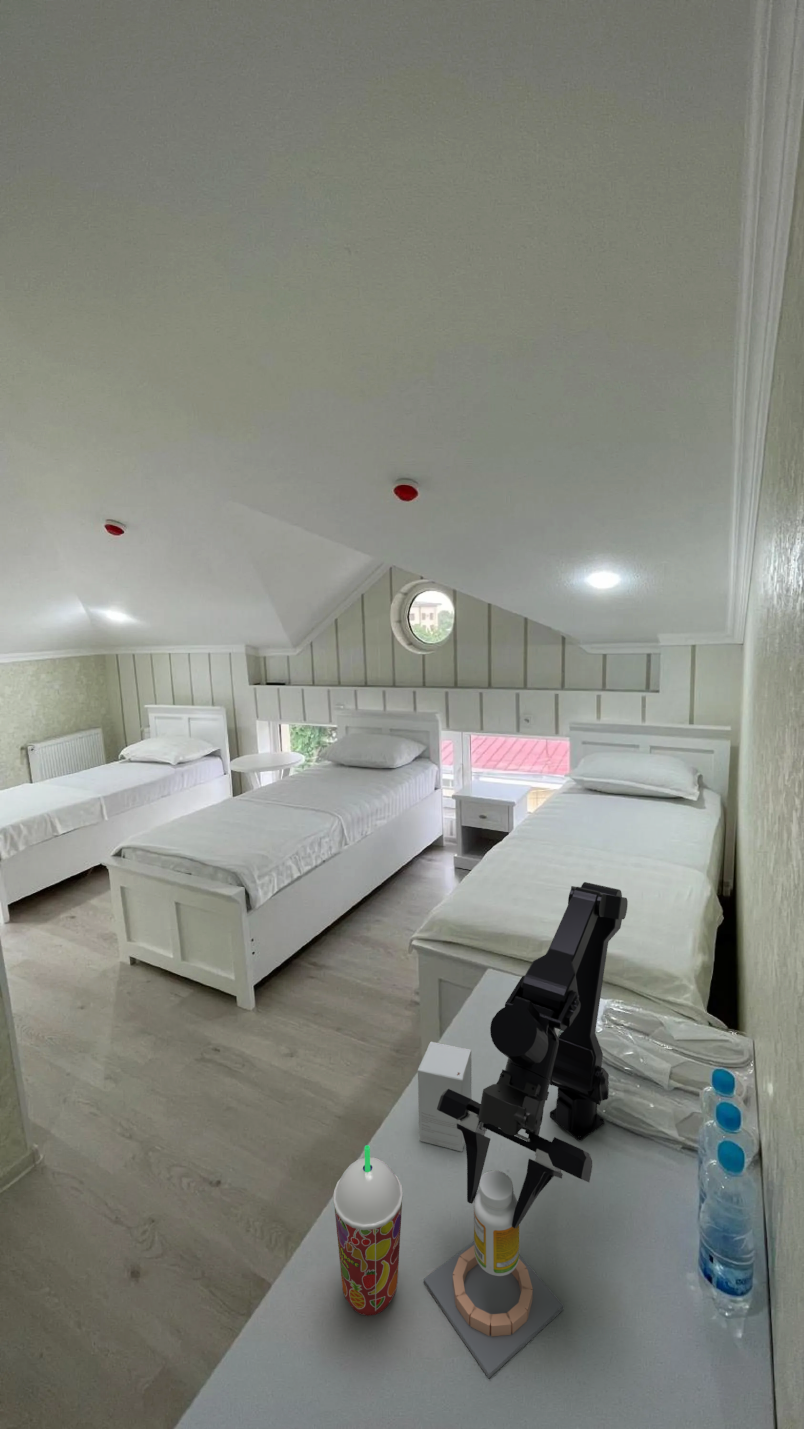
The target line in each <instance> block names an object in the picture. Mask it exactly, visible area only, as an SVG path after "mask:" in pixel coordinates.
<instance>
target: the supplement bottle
mask: <svg viewBox="0 0 804 1429" xmlns="http://www.w3.org/2000/svg"><path fill="white" fill-rule="evenodd" d="M517 1202H518V1199H517V1197H516V1195H515V1192H514V1184H513V1181H512V1178H511V1177H510V1176H509V1175H507V1174H506V1173H505V1172H503V1171H501V1170H495V1169H493V1170H488V1171H486V1172H485V1173H482V1175H481V1179H480V1183H479V1187H478V1190H477V1193H476V1196H475V1198H474V1201H473V1241H474V1250H475V1257H476V1260H477V1262H478V1264H479V1265H480V1267H481V1268H482V1269H483V1270H484V1271H486V1272H487V1273H489V1274H491V1275H495V1276H504V1275H507V1274H509V1273H511V1272H512V1271H513V1270H514V1269H515V1268H516V1266H517V1264H518V1261H519V1254H520V1225H519V1226H518V1227H517V1228H513V1227H512V1221H513V1216H514V1212H515V1208H516V1205H517Z"/></svg>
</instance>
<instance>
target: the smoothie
mask: <svg viewBox="0 0 804 1429" xmlns="http://www.w3.org/2000/svg"><path fill="white" fill-rule="evenodd" d="M403 1198H404V1193H403V1185H402V1183H401V1181H400V1179H399V1177H398V1176H397V1174H395V1172H394V1171H393V1169H392V1168H391V1167H390V1166H389V1165H388V1164H387V1162H385V1161H383V1160H382V1159H381V1158H380V1159H379V1158H377V1157H373V1156H371V1146H370V1145H364V1157H361V1158H359V1159H357V1160H355V1161H354V1162H352V1163H350V1164H349V1166H348V1167H346V1170H344V1172H343V1173H342V1175H341V1176H340V1179H338V1181H337V1182H336V1185H335V1187H334V1191H333V1195H332V1199H333V1200H332V1201H333V1202H332V1203H333V1206H334V1215H335V1216H334V1217H335V1225H336V1235H337V1246H338V1254H339V1255H338V1257H339V1265H340V1276H341V1284H342V1285H341V1286H342V1292H343V1294H344V1298H345V1300H346V1301H347V1303H348V1304H349V1305H350V1306H351V1308H352V1309H353V1310H354V1311H355V1312H356V1313H358V1314H360V1315H363V1316H367V1317H370V1316H376V1315H378V1314H379V1313H381V1312H383V1311H385V1309H386V1308H387V1307H388V1306H389V1304H390V1303H391V1301H392V1299H393V1297H394V1296H395V1294H396V1292H397V1288H398V1287H397V1286H398V1283H399V1282H398V1281H399V1280H398V1278H399V1265H400V1264H399V1263H400V1262H399V1260H400V1245H401V1228H402V1227H401V1226H402V1209H403Z"/></svg>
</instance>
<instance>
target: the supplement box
mask: <svg viewBox="0 0 804 1429" xmlns="http://www.w3.org/2000/svg"><path fill="white" fill-rule="evenodd" d="M472 1078H473V1077H472V1049H468V1048H464V1047H459V1046H454V1045H449V1044H445V1043H444V1044H443V1043H439V1042H435V1041H430V1042H429V1044H428V1046H427V1049H426V1050H425V1053H424V1055H423V1057H422V1059H421V1062H420V1064H419V1066H418V1068H417V1086H418V1088H417V1089H418V1092H417V1094H418V1096H417V1097H418V1103H417V1104H418V1134H419V1136H418V1137H419V1142H422V1143H427V1144H431V1145H435V1146H439V1147H443V1148H446V1149H451V1150H454V1151H457V1152H463V1150H464V1147H465V1145H466V1144H465V1140H464V1137H463V1133H462V1131H461V1130H459V1129H457V1124H459V1123H460V1120H457V1119H455V1118H453V1117H451V1116H449V1115H447V1114H445V1113H443V1112H441V1111H438V1110H437V1107H438V1103H439V1100H440V1097H441V1095H442V1094H443V1092H445V1091H446V1090H447V1089H450V1090H452V1091H455V1092H457V1093H459V1094H461V1095H463V1096H466V1097H468V1098H470V1099H472V1084H473V1083H472V1082H473V1081H472ZM472 1100H473V1099H472Z"/></svg>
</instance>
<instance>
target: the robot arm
mask: <svg viewBox="0 0 804 1429" xmlns="http://www.w3.org/2000/svg"><path fill="white" fill-rule="evenodd" d="M570 887H571V888H570V891H569V894H568V900H567V907H566V909H565V911H564V913H563V916H562V917H561V920H560V922H559V924H558V927H557V929H556V932H555V933H554V936H553V939H552V940H551V942H550V945H549V948H548V950H547V951H546V953H545V954H544V955H542V956H540V957H538V958H536V959H534V960H533V961H532V962H531V964H530V966H529V968H528V969H527V971H526V973H525V974H523V975H522V976H521V978H520V979H519V981H518V983H517V984H516V986H515V987H514V989H513V990H512V991H511V994H510V995H509V996H508V998H507V1000H506V1002H505V1004H504V1007H502V1008H501V1009H499V1010H498V1011H497V1012H496V1014H495V1015H494V1016H493V1017H492V1019H491V1022H490V1028H489V1029H490V1032H489V1034H490V1038H491V1041H492V1043H493V1045H494V1047H495V1048H496V1049H497V1051H499V1052H500V1053H502V1054H503V1055H504V1056H505V1057H506V1058H507V1060H506V1066H505V1069H501V1073H500V1074H499V1077H498V1080H497V1082H496V1083H492V1084H491V1085H489V1086H487V1087H485V1088H483V1090H482V1093H481V1094H482V1096H481V1099H480V1103H479V1102H478V1101H476V1100H474V1099H470V1098H468V1097H466V1096H463V1095H461V1094H459V1093H457V1092H455V1091H452V1090H450V1089H447V1090H446V1091H445V1092H443V1094H442V1095H441V1097H440V1100H439V1103H438V1107H437V1110H438V1111H441V1112H443V1113H445V1114H447V1115H449V1116H451V1117H453V1118H455V1119H457V1120H460V1123H459V1124H457V1129H459V1130H461V1131H462V1133H463V1137H464V1140H465V1144H464V1145H465V1154H466V1166H467V1167H466V1196H467V1197H466V1201H467V1203H469V1204H474V1199H475V1196H476V1193H477V1192H478V1190H479V1185H480V1179H481V1177H482V1175H483V1170H484V1166H485V1162H486V1158H487V1154H488V1151H489V1147H490V1143H491V1142H490V1141H491V1138H490V1137H488V1136H486V1132H487V1131H490V1132H493V1133H494V1134H496V1135H498V1136H501V1137H503V1138H505V1139H507V1140H509V1141H512V1142H513V1143H515V1144H517V1145H520V1146H522V1147H524V1148H526V1149H528V1150H531V1151H532V1152H534V1153H535V1154H534V1155H535V1160H534V1159H531V1158H528V1161H527V1168H526V1174H525V1178H524V1181H523V1185H522V1187H521V1190H520V1194H519V1197H518V1199H517V1201H518V1202H517V1205H516V1208H515V1212H514V1216H513V1221H512V1227H513V1228H517V1227H518V1226H519V1227H520V1224H521V1222H522V1221H523V1220H524V1218H525V1216H526V1214H528V1212H529V1210H530V1208H531V1207H532V1205H533V1203H534V1202H535V1201H536V1199H537V1198H538V1196H540V1193H541V1192H542V1191H543V1190H544V1188H545V1187H546V1186H547V1185H548V1184H549V1182H550V1181H551V1180H552V1179H553V1178H554V1177H556V1178H559V1179H562V1178H563V1176H564V1175H563V1173H562V1171H563V1172H565V1173H567V1174H570V1175H572V1176H573V1177H576V1178H578V1179H579V1180H582V1181H585V1182H588V1183H590V1181H591V1175H592V1171H593V1159H592V1156H591V1154H590V1153H589V1152H588V1151H585V1150H583V1149H581V1148H580V1147H577V1146H575V1145H573V1144H571V1143H568V1142H566V1141H564V1140H562V1139H559V1138H558V1137H555V1136H554V1137H553V1138H552V1141H551V1140H548V1139H546V1138H544V1137H542V1136H540V1132H541V1127H542V1126H541V1125H542V1124H543V1118H544V1117H543V1116H544V1107H545V1103H546V1101H548V1097H549V1094H550V1092H549V1087H550V1086H554V1087H556V1088H557V1098H556V1101H555V1102H556V1107H555V1108H554V1109H552V1110H551V1111H550V1112H549V1117H550V1118H551V1119H552V1120H553V1121H555V1122H556V1123H557V1124H558V1125H559V1126H561V1127H562V1129H564V1130H566V1132H567V1133H569V1134H570V1135H571V1136H573V1138H575V1139H576V1140H577V1141H581V1142H582V1141H583V1140H584V1139H586V1138H587V1137H588V1136H590V1135H591V1134H592V1133H594V1132H595V1131H596V1130H598V1129H600V1128H601V1127H602V1126H604V1125H605V1123H606V1122H605V1119H604V1118H603V1117H602V1116H601V1115H599V1114H598V1106H600V1105H601V1104H602V1102H603V1101H606V1100H608V1099H609V1091H610V1089H609V1084H610V1081H609V1079H610V1078H609V1076H610V1074H609V1073H608V1071H607V1070H606V1069H605V1067H603V1066H602V1065H603V1057H604V1056H603V1054H604V1053H603V1050H602V1048H601V1045H600V1042H599V1039H598V1037H597V1035H596V1030H597V1024H598V1016H599V1009H600V1002H601V996H602V988H603V982H604V976H605V975H604V973H605V968H606V960H607V954H608V948H609V942H610V941H611V940H612V938H614V936H615V935H616V934H617V933H618V931H619V930H620V929H621V926H622V921H623V920H625V918H626V915H627V913H628V912H627V911H628V905H629V904H628V902H629V901H628V899H627V897H623V893H622V890H621V889H619V888H613V887H610V886H604V885H601V884H595V883H591V882H586V881H584V882H583V883H582V884H581V886H570ZM555 1028H557V1029H560V1031H562V1032H561V1033H559V1034H558V1037H557V1035H556V1032H555ZM521 1130H524V1133H525V1134H527V1135H528V1136H527V1137H526V1136H524V1135H522V1134H519V1133H520V1131H521Z"/></svg>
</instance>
